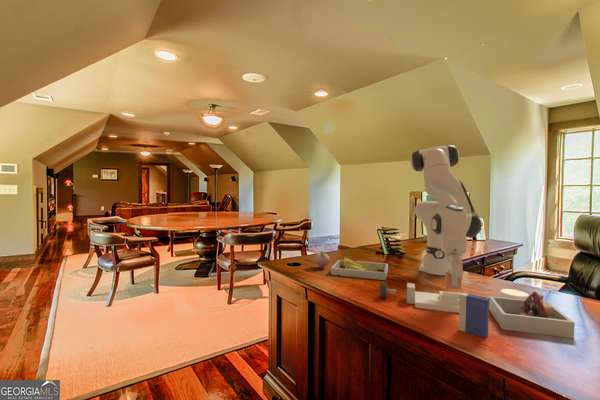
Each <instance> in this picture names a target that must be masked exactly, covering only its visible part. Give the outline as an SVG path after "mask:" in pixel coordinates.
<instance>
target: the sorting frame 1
mask: <svg viewBox="0 0 600 400" xmlns="http://www.w3.org/2000/svg"><path fill="white" fill-rule="evenodd" d="M357 262H359V263H362V264H365V265H368V266H371V267H374V268H376V269H377V271H376V272H373V271H362V270H351V269H345V268H340V267H344V259H338V260H337V261H336V262H335V263H334V264H333V265H332V266H331V268H330V275H331V274H332V276H338V275H340V276H339V277H348V278H361V279H372V280H381V281H386V279H387V275H388V272H389V263H386V262H385V263H383V262H371V261H360V260H358V261H357ZM378 270H380V271H381V272H380V271H378ZM382 271H383V272H382Z"/></svg>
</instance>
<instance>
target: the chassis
mask: <svg viewBox="0 0 600 400" xmlns="http://www.w3.org/2000/svg"><path fill="white" fill-rule="evenodd" d="M462 293H463V292H454V291H446V290H444V291H443V290H439V291H438V293H434V292H427V291H426V292H425V291H417V290H416V284H415V283H413V282H406V304H411V305H414V308H416V309H417V308H418V309H424V310H430V311H431V310H432V311H433V310H434V311H442V312H447V313H458V314H459V306H460V305H459V301H460V294H462Z"/></svg>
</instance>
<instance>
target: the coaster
mask: <svg viewBox="0 0 600 400" xmlns="http://www.w3.org/2000/svg"><path fill="white" fill-rule="evenodd" d="M529 296H530V294H529V293H528V292H525V291H522V290H520V289H519V290H518V289H514V288H502V289H500V290H499V297H502V298H511V299H521V300H526V299H527V298H528V297H529Z"/></svg>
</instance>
